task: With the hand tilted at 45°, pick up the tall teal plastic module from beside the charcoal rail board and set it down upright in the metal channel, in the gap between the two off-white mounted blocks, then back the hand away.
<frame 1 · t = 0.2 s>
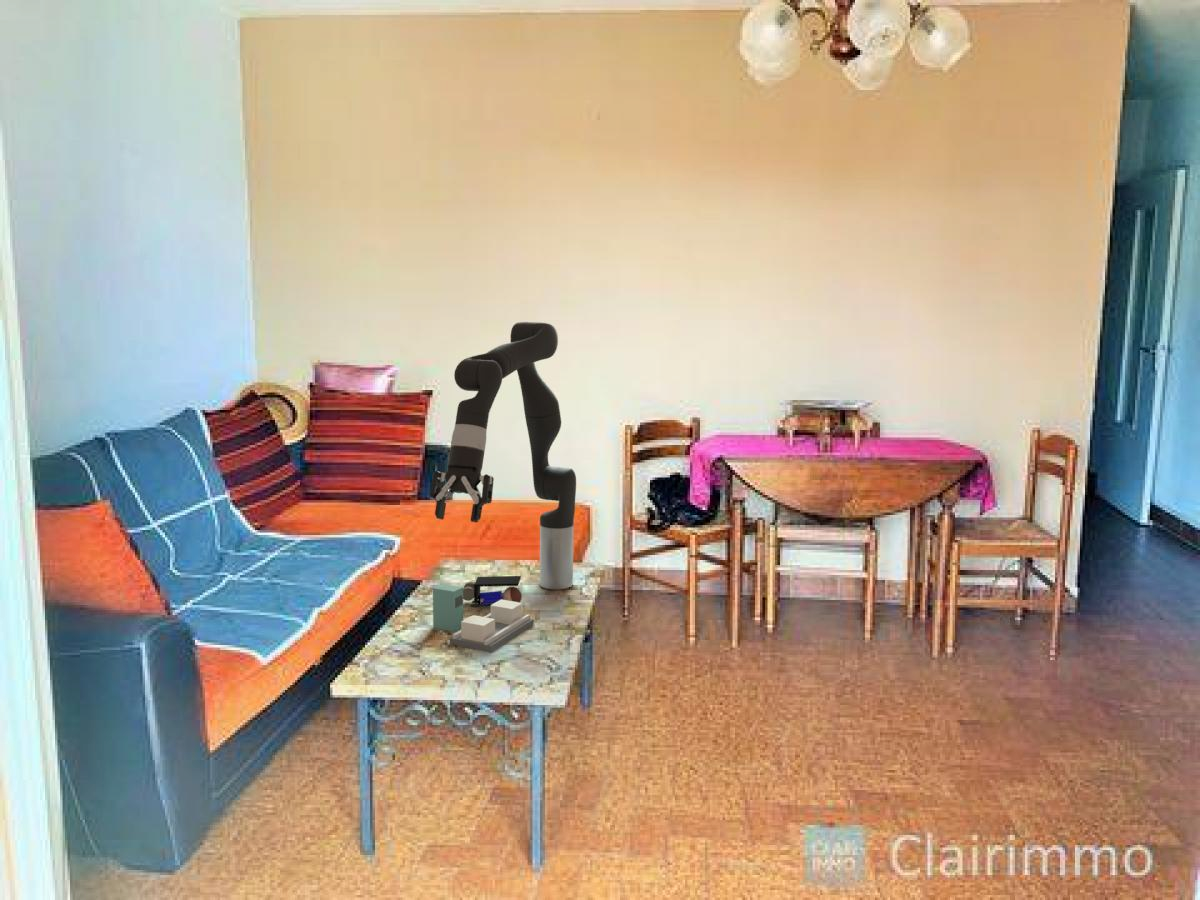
hand: (456, 520, 207), 31 cm above the table, tool tilted 20°, fingers open, 8 cm apart
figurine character: (491, 606, 247), on the table
mounted blocks: (492, 620, 225), point 4 cm above the table
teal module: (448, 627, 230), on the table
rail board: (492, 634, 226), on the table
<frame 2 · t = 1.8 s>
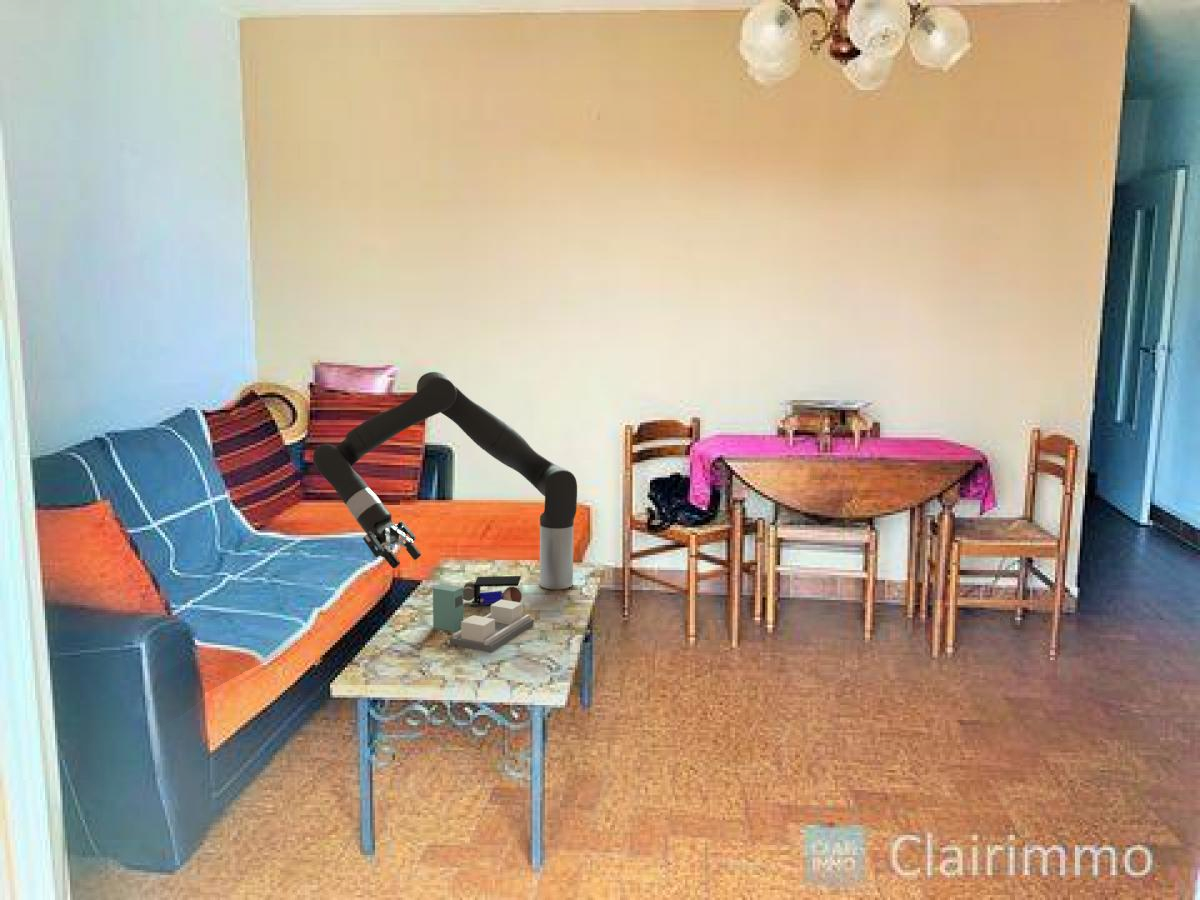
hand: (407, 561, 232), 15 cm above the table, tool tilted 45°, fingers open, 8 cm apart
nothing on the table moved.
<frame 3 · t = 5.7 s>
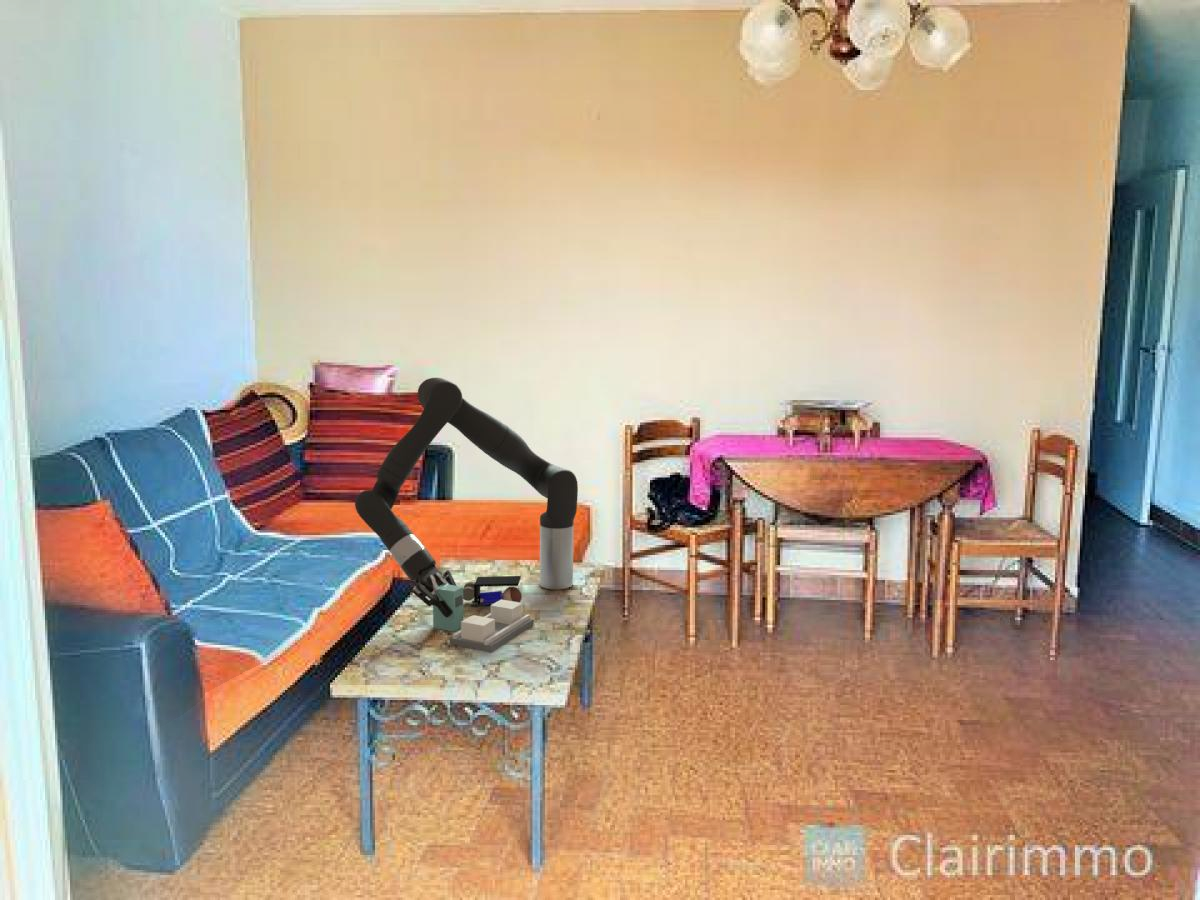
hand: (455, 612, 228), 4 cm above the table, tool tilted 45°, fingers closed on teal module, 4 cm apart
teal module: (448, 627, 230), on the table, touching gripper
everything else where it was.
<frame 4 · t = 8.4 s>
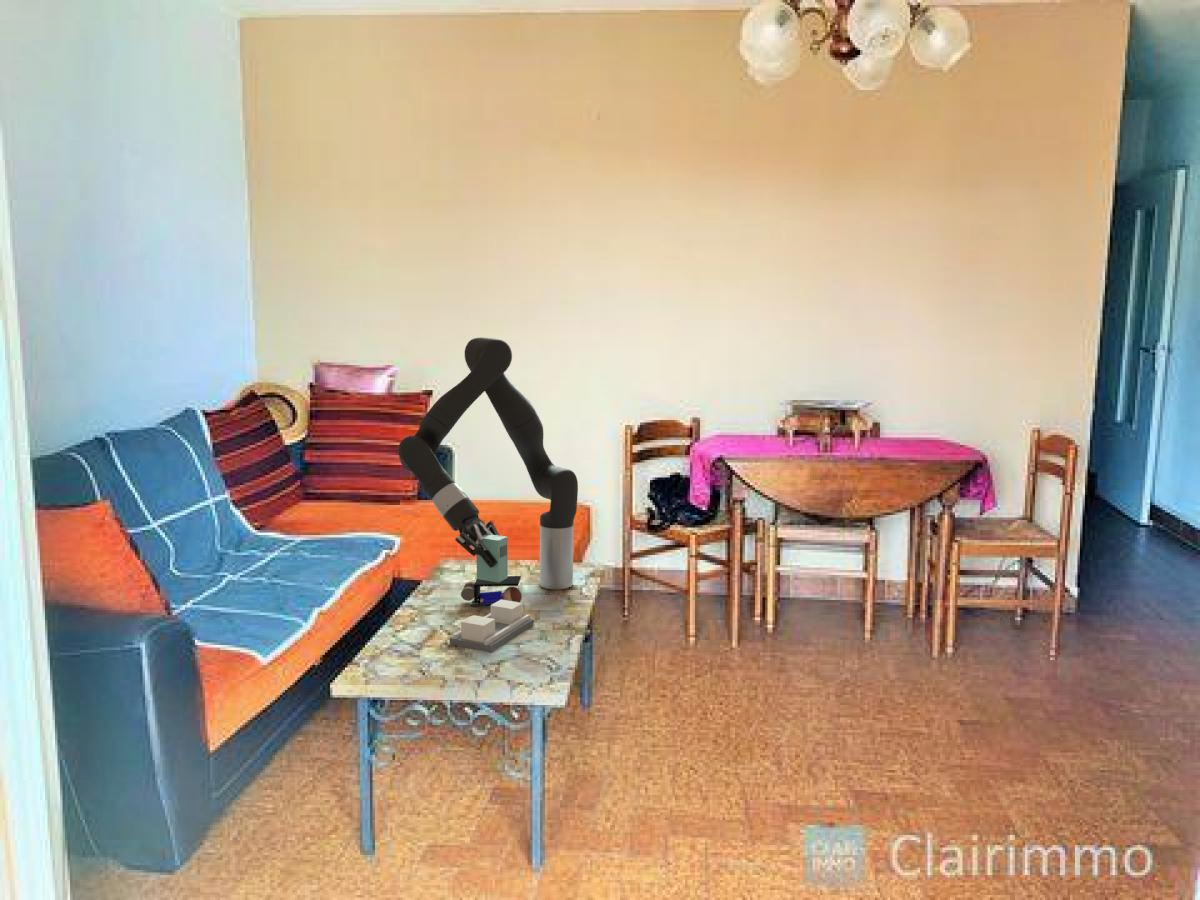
hand: (499, 562, 222), 18 cm above the table, tool tilted 45°, fingers closed on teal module, 4 cm apart
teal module: (492, 578, 223), point 14 cm above the table, touching gripper
everything else where it was.
when the fingers open (7 cm above the table, at t = 11.2 s): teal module drops 1 cm, resting on rail board.
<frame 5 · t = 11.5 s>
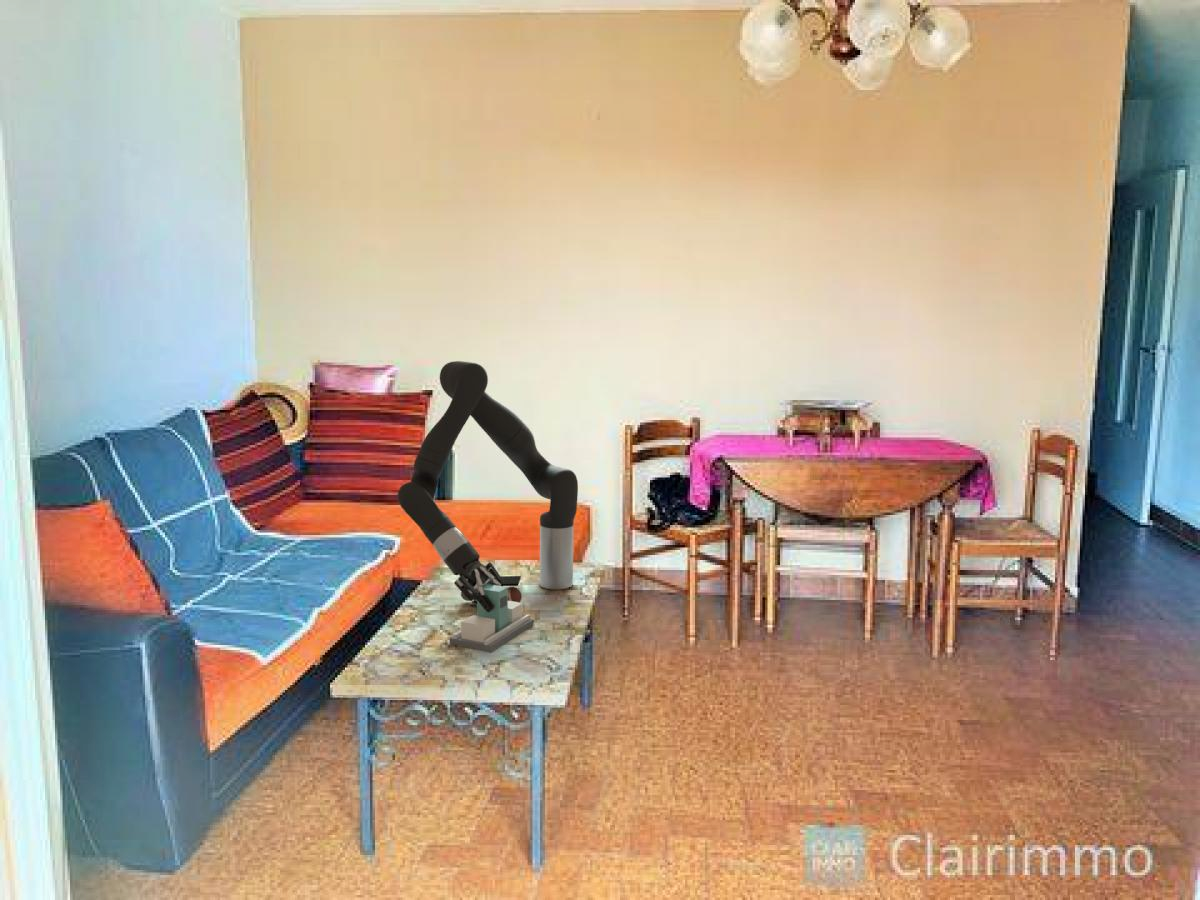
hand: (498, 605, 224), 7 cm above the table, tool tilted 45°, fingers open, 6 cm apart
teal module: (492, 628, 225), point 2 cm above the table, touching rail board
everything else where it was.
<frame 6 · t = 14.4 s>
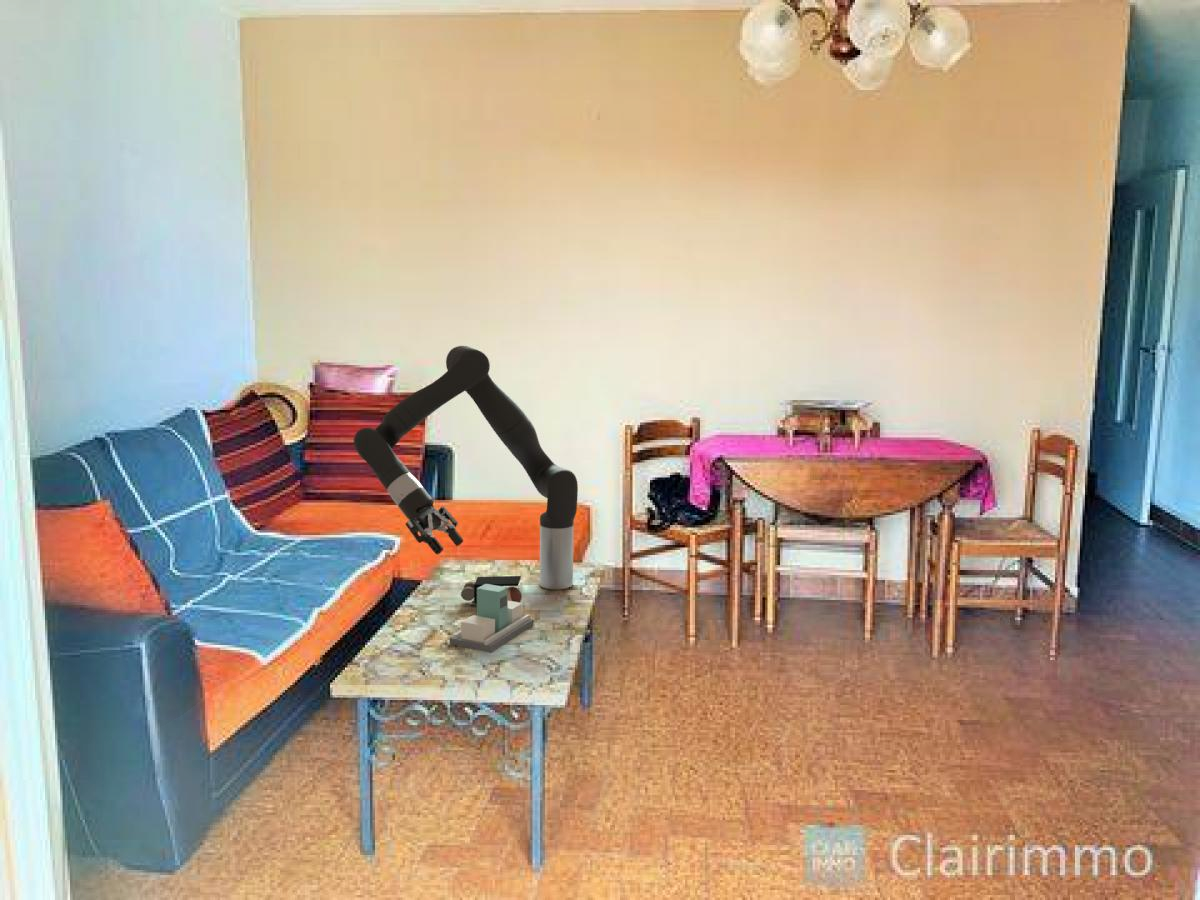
hand: (450, 547, 227), 20 cm above the table, tool tilted 45°, fingers open, 8 cm apart
nothing on the table moved.
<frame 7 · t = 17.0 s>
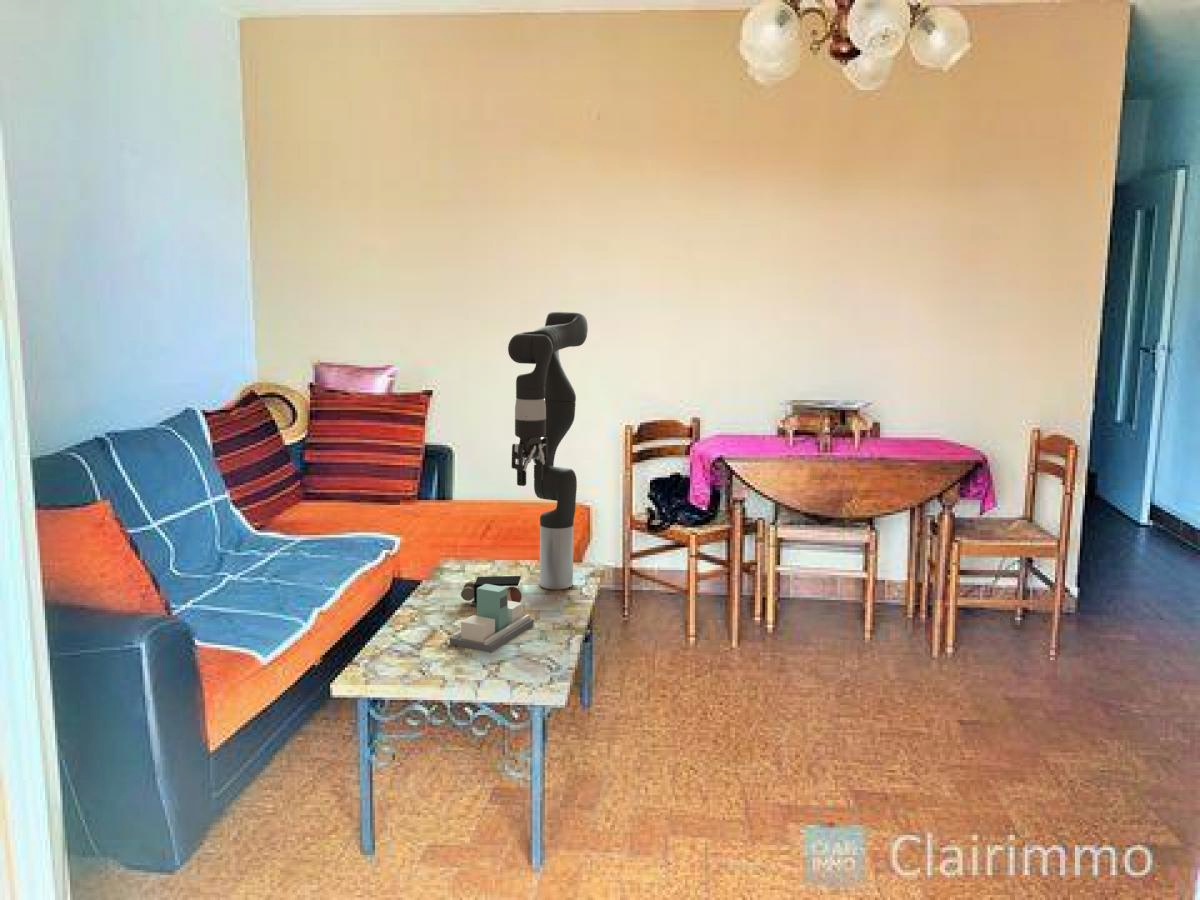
hand: (530, 482, 233), 34 cm above the table, tool pointing down, fingers open, 8 cm apart
nothing on the table moved.
at the end: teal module 0.2 cm from the rail board (horizontally); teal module point 1.5 cm above the table; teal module tilted 0° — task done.
